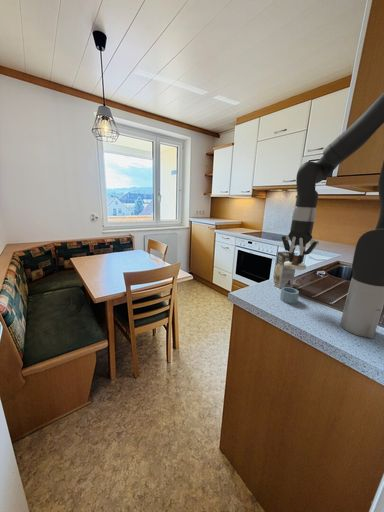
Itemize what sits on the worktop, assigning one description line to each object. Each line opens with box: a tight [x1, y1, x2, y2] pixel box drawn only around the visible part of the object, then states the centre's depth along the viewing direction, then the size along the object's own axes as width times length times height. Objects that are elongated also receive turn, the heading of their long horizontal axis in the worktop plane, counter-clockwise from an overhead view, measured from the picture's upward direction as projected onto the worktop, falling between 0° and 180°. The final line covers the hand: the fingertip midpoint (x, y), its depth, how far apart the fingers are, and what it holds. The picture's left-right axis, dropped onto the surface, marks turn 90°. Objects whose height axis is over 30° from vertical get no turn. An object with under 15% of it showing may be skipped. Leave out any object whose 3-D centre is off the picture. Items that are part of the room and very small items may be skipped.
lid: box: [284, 254, 307, 271], centre depth 85 cm, size 8×8×4 cm
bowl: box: [279, 287, 300, 305], centre depth 89 cm, size 7×7×4 cm
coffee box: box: [273, 251, 296, 289], centre depth 103 cm, size 9×6×16 cm
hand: (295, 262), depth 85 cm, fingers closed on lid, 2 cm apart
